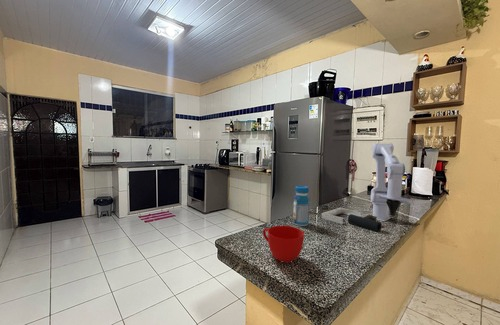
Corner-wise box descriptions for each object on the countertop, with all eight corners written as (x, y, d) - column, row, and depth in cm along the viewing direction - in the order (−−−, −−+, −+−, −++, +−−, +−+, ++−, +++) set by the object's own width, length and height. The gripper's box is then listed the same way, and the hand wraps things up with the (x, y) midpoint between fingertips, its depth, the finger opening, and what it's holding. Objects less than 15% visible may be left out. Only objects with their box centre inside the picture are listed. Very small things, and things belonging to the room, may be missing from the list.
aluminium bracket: (340, 211, 143) (340, 207, 142) (360, 217, 133) (360, 212, 132) (321, 218, 129) (321, 213, 129) (342, 224, 120) (342, 218, 119)
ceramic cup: (273, 244, 94) (273, 220, 93) (309, 258, 82) (310, 232, 81) (252, 254, 84) (252, 228, 84) (289, 272, 73) (290, 242, 72)
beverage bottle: (302, 227, 113) (303, 188, 112) (289, 223, 120) (290, 186, 118) (312, 224, 119) (313, 187, 117) (299, 220, 125) (300, 184, 124)
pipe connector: (359, 211, 127) (387, 218, 115) (359, 220, 128) (387, 228, 116) (348, 214, 121) (376, 222, 109) (347, 224, 121) (376, 233, 109)
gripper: (375, 186, 112) (373, 213, 113) (409, 191, 101) (407, 220, 102) (380, 185, 117) (379, 210, 118) (414, 189, 105) (412, 217, 106)
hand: (392, 215), depth 110 cm, fingers closed
